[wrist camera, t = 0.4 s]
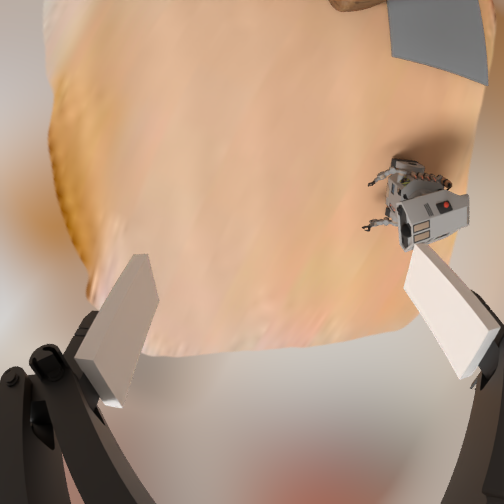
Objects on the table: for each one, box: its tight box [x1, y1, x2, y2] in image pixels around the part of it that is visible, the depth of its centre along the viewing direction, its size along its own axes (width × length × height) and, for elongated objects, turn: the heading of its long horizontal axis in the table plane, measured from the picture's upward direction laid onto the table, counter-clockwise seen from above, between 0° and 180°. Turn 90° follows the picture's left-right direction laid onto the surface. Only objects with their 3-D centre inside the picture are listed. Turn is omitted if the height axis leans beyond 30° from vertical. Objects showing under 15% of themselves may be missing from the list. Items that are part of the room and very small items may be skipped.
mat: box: [387, 0, 488, 86], centre depth 25 cm, size 22×20×1 cm
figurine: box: [362, 159, 469, 252], centre depth 33 cm, size 9×12×15 cm
